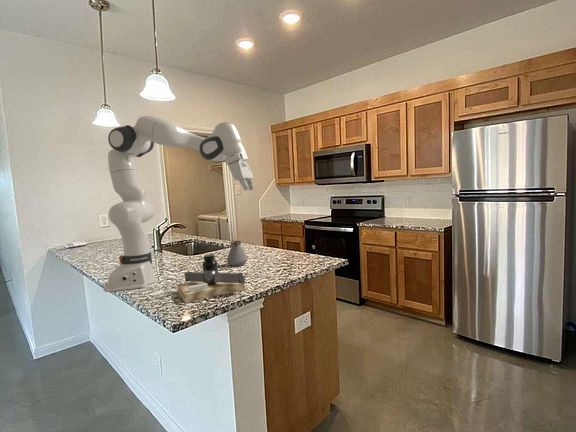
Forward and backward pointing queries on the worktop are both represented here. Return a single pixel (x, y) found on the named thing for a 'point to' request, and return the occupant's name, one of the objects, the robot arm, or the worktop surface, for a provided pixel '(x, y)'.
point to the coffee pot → (236, 254)
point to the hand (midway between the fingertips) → (249, 190)
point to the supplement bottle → (209, 263)
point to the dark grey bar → (214, 277)
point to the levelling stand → (206, 290)
